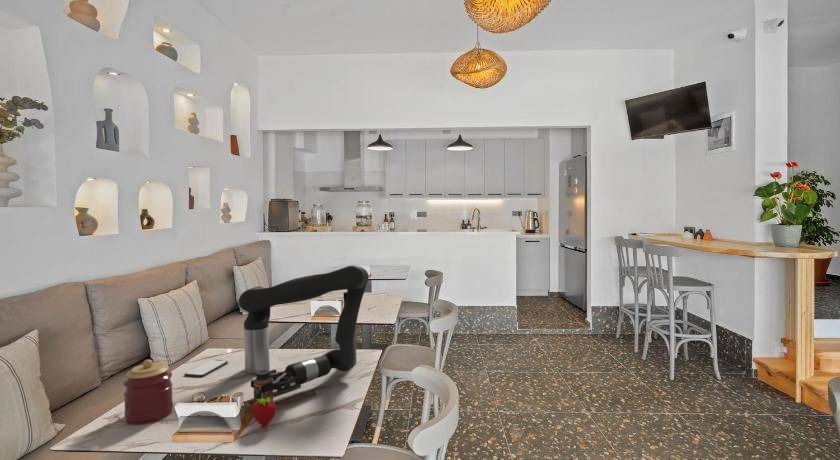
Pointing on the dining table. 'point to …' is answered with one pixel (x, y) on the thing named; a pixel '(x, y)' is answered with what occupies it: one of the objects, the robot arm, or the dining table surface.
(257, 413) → the strawberry
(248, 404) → the walnut track
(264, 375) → the supplement bottle
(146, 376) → the canister
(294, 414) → the dining table surface
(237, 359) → the dining table surface
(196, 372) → the phone case
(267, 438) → the dining table surface
